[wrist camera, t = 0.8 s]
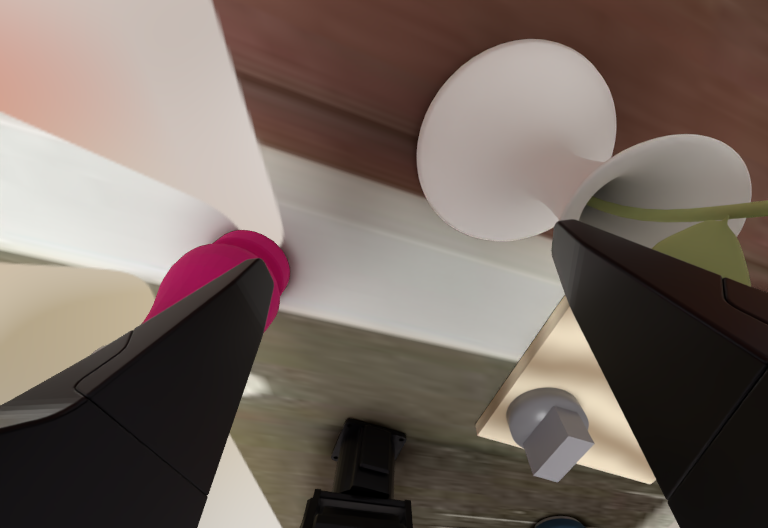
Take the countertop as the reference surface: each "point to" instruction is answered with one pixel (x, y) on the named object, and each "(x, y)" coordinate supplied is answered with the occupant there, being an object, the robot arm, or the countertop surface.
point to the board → (584, 381)
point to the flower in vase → (574, 162)
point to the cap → (549, 430)
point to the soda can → (559, 522)
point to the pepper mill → (222, 269)
